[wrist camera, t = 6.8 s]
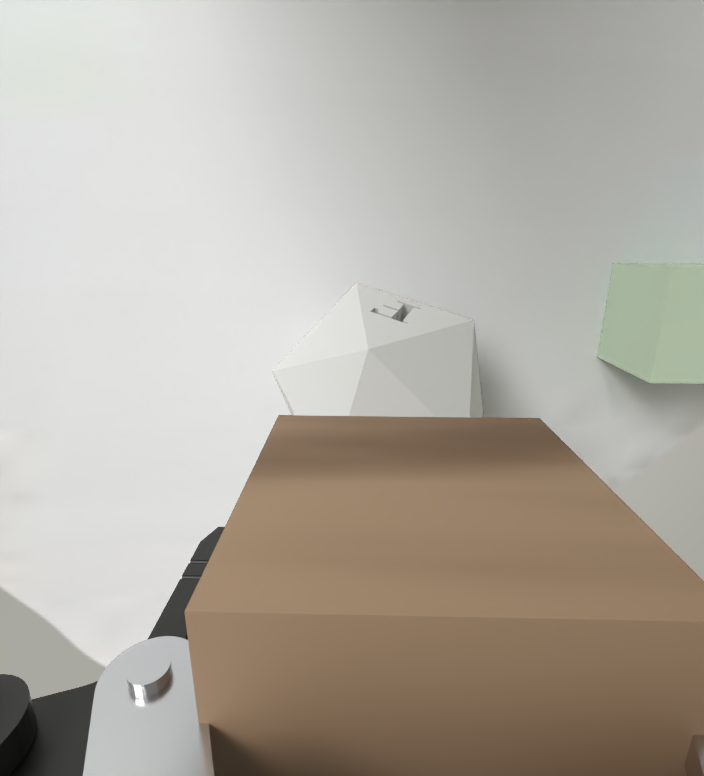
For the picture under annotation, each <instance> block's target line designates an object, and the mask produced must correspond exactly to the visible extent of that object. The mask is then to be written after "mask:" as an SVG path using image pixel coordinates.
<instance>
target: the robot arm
mask: <svg viewBox="0 0 704 776" xmlns="http://www.w3.org/2000/svg"><path fill="white" fill-rule="evenodd" d="M224 528H225V527H218V528H216V529H215V530H214V531H213V532H212V533H211V534H209V535H208V536H207V537H206V538H205V539H203V540H202V541H201V542H200V544H199V545H198V547H197V549H196V551H195V553H194V555H193V557H192V558H191V562H190V564H188V566H187V568H186V570H185V571H184V573H183V575H182V579H180V581H179V582H178V584H177V586H176V588H175V590H174V592H173V594H172V595H171V597H170V599H169V601H168V603H167V605H166V607H165V608H164V610H163V612H162V614H161V616H160V618H159V620H158V621H157V623H156V625H155V627H154V629H153V631H152V633H151V634H150V636H149V638H148V640H145V641H142V642H140V643H138V644H136V645H134V646H132V647H130V648H128V649H127V650H125V651H124V652H122V653H121V654H120V655H118V656H117V657H116V658H115V659H114V660H113V661H112V662H111V663H110V664H109V665H108V666H107V668H106V669H105V670H104V672H103V673H102V675H101V676H100V678H99V680H98V681H97V682H94V683H92V684H89V685H86V686H82V687H79V688H75V689H71V690H67V691H63V692H59V693H56V694H52V695H48V696H44V697H40V698H36V699H32V700H31V697H30V693H29V689H28V686H27V684H26V683H25V682H24V681H23V680H22V679H20V678H19V677H16V676H13V675H6V674H0V776H215V775H214V765H213V756H212V747H211V739H210V730H209V723H198V715H197V707H196V699H195V691H194V683H193V675H192V668H191V660H190V652H189V644H188V636H187V628H186V620H185V612H184V611H185V609H186V607H187V605H188V603H189V601H190V599H191V597H192V595H193V593H194V591H195V589H196V586H197V584H198V582H199V580H200V578H201V576H202V574H203V572H204V570H205V568H206V566H207V564H208V561H209V559H210V557H211V555H212V553H213V551H214V549H215V547H216V545H217V543H218V541H219V539H220V536H221V534H222V532H223V530H224ZM684 766H685V770H686V775H687V776H704V735H693V737H692V741H691V744H690V747H689V750H688V754H687V757H686V760H685V763H684Z"/></svg>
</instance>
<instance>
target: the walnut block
mask: <svg viewBox="0 0 704 776" xmlns="http://www.w3.org/2000/svg"><path fill="white" fill-rule="evenodd" d="M184 612H185V620H186V628H187V636H188V644H189V652H190V660H191V668H192V675H193V683H194V691H195V699H196V707H197V715H198V723H209V730H210V739H211V747H212V756H213V765H214V775H215V776H687V775H686V770H685V766H684V763H685V760H686V757H687V754H688V750H689V747H690V744H691V741H692V737H693V735H704V581H703V580H702V579H701V578H700V577H699V576H698V575H697V574H696V573H695V572H694V571H693V570H692V569H691V568H690V567H689V566H688V565H687V564H686V563H685V562H684V561H683V560H682V559H681V558H680V557H679V556H678V555H677V554H676V553H675V552H674V551H673V550H672V549H671V548H670V547H669V546H668V545H667V544H666V543H665V542H664V541H663V540H662V539H661V538H660V537H659V536H658V535H657V534H656V533H655V532H654V531H653V530H652V529H651V528H650V527H649V526H648V525H647V524H645V522H644V521H643V520H642V519H641V518H639V516H638V515H637V514H635V513H634V512H633V511H632V510H631V509H630V508H629V507H628V506H627V505H626V504H625V503H624V502H623V501H622V500H621V499H620V498H619V497H618V496H617V495H616V494H615V493H614V492H613V491H612V490H611V489H610V488H609V487H608V486H607V485H606V484H605V483H604V482H603V481H602V480H601V479H600V478H599V477H598V476H597V475H596V474H595V473H594V472H593V471H592V470H591V469H590V468H589V467H588V466H587V465H586V464H585V463H584V462H583V461H582V460H581V459H580V458H579V457H578V456H577V455H576V454H575V453H574V452H573V451H572V450H571V449H570V448H569V447H568V446H567V445H566V444H565V443H564V442H563V441H562V440H561V439H560V438H559V437H558V436H557V435H556V434H555V433H554V432H553V431H552V430H551V429H550V428H549V427H548V426H547V425H546V424H545V423H544V422H543V421H542V420H541V419H540V418H470V417H387V416H304V415H279V416H278V418H277V420H276V422H275V424H274V426H273V428H272V430H271V432H270V434H269V436H268V439H267V441H266V443H265V445H264V447H263V449H262V451H261V453H260V455H259V457H258V459H257V461H256V464H255V466H254V468H253V470H252V472H251V474H250V476H249V478H248V480H247V482H246V484H245V486H244V489H243V491H242V493H241V495H240V497H239V499H238V501H237V503H236V505H235V507H234V509H233V511H232V514H231V516H230V518H229V520H228V522H227V524H226V526H225V528H224V530H223V532H222V534H221V536H220V539H219V541H218V543H217V545H216V547H215V549H214V551H213V553H212V555H211V557H210V559H209V561H208V564H207V566H206V568H205V570H204V572H203V574H202V576H201V578H200V580H199V582H198V584H197V586H196V589H195V591H194V593H193V595H192V597H191V599H190V601H189V603H188V605H187V607H186V609H185V611H184Z"/></svg>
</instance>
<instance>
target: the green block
mask: <svg viewBox="0 0 704 776" xmlns="http://www.w3.org/2000/svg"><path fill="white" fill-rule="evenodd" d="M597 357H598V358H600V359H602V360H604V361H606V362H608V363H610V364H612V365H614V366H616V367H618V368H620V369H622V370H624V371H626V372H628V373H630V374H632V375H634V376H636V377H638V378H640V379H642V380H644V381H646V382H648V383H680V384H704V264H621V263H613V265H612V271H611V277H610V283H609V289H608V295H607V301H606V307H605V313H604V319H603V325H602V331H601V337H600V343H599V349H598V355H597Z"/></svg>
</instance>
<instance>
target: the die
mask: <svg viewBox="0 0 704 776" xmlns="http://www.w3.org/2000/svg"><path fill="white" fill-rule="evenodd" d="M272 372H273V374H274V377H275V379H276V381H277V383H278V385H279V388H280V390H281V392H282V394H283V397H284V399H285V401H286V403H287V405H288V408H289V410H290V412H291V414H292V415H304V416H387V417H470V418H482V416H483V406H482V396H481V386H480V376H479V366H478V356H477V346H476V336H475V326H474V320H473V319H470V318H466V317H463V316H460V315H457V314H454V313H451V312H447V311H444V310H441V309H438V308H435V307H432V306H429V305H425V304H422V303H419V302H416V301H413V300H410V299H407V298H403V297H400V296H397V295H394V294H391V293H388V292H385V291H381V290H378V289H375V288H372V287H369V286H366V285H363V284H359V283H355V284H354V285H353V286H352V287H351V288H350V289H349V290H348V292H347V293H346V294H345V295H344V296H343V297H342V298H341V299H340V300H339V301H338V302H337V303H336V304H335V305H334V306H333V307H332V308H331V309H330V310H329V311H328V313H327V314H326V315H325V316H324V317H323V318H322V319H321V320H320V321H319V322H318V323H317V324H316V325H315V326H314V327H313V328H312V329H311V330H310V331H309V332H308V333H307V335H306V336H305V337H304V338H303V339H302V340H301V341H300V342H299V343H298V344H297V345H296V346H295V347H294V348H293V349H292V350H291V351H290V352H289V353H288V354H287V355H286V357H285V358H284V359H283V360H282V361H281V362H280V363H279V364H278V365H277V366H276V367H275V368H274V369H273V370H272Z"/></svg>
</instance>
